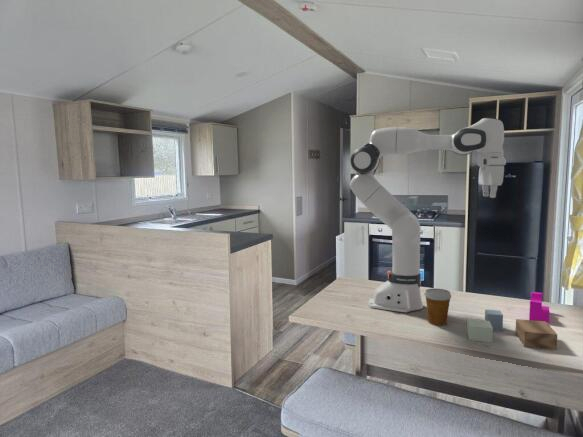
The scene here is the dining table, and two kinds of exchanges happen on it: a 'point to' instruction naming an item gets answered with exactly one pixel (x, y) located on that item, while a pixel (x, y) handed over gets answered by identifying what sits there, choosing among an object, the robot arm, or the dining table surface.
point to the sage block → (479, 330)
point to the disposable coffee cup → (437, 305)
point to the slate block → (495, 319)
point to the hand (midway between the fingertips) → (489, 197)
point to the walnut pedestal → (536, 334)
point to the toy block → (538, 308)
